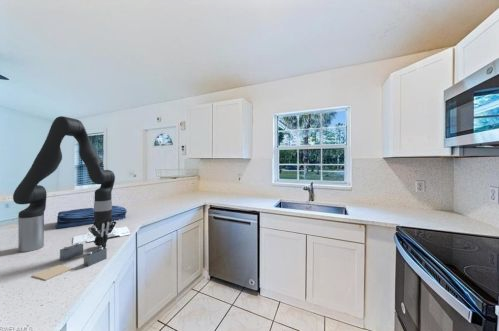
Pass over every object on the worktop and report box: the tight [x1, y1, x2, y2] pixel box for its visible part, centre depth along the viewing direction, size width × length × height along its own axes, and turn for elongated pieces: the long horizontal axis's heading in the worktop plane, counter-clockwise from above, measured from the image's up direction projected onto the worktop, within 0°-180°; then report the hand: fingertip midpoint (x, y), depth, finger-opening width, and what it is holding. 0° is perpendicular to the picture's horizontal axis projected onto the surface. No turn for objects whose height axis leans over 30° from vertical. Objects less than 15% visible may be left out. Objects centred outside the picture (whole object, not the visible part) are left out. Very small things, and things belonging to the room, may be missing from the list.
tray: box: [72, 226, 131, 245], centre depth 127 cm, size 20×28×4 cm
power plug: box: [93, 236, 107, 248], centre depth 107 cm, size 6×8×12 cm
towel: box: [55, 205, 127, 230], centre depth 160 cm, size 24×43×10 cm, turn 133°
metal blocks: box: [59, 242, 108, 267], centre depth 95 cm, size 19×8×6 cm, turn 72°
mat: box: [31, 264, 74, 281], centre depth 83 cm, size 9×9×1 cm
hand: (102, 242), depth 103 cm, fingers closed
